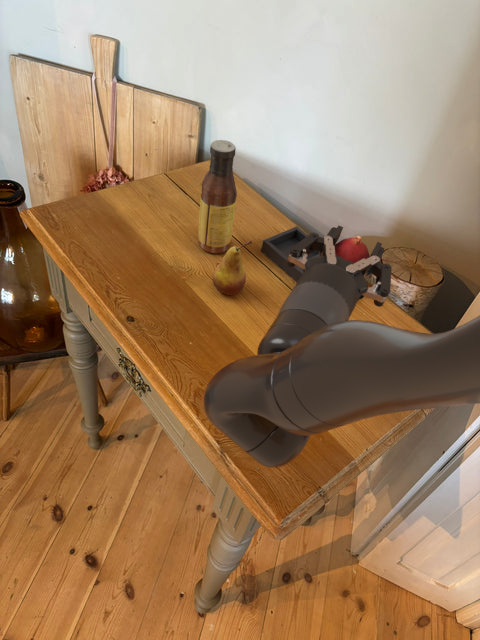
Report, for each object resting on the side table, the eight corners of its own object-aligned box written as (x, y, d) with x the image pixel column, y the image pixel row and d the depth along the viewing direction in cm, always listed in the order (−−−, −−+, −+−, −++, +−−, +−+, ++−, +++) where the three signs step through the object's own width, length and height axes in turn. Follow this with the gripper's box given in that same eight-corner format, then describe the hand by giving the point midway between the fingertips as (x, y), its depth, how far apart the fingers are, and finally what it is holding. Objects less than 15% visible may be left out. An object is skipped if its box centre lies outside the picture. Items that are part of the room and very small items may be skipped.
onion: (314, 278, 68) (328, 233, 62) (335, 262, 71) (351, 218, 65) (346, 299, 65) (365, 254, 60) (367, 281, 69) (386, 238, 63)
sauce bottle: (236, 244, 89) (253, 147, 74) (217, 260, 85) (232, 161, 70) (208, 229, 90) (220, 132, 76) (189, 244, 86) (197, 144, 72)
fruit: (236, 276, 83) (247, 221, 74) (247, 298, 79) (259, 243, 70) (206, 279, 81) (214, 223, 72) (216, 302, 77) (225, 247, 69)
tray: (293, 236, 93) (296, 226, 91) (357, 288, 85) (362, 278, 84) (260, 250, 88) (263, 240, 87) (325, 307, 81) (329, 296, 79)
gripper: (386, 314, 50) (418, 237, 61) (269, 261, 53) (319, 197, 64) (363, 356, 56) (395, 279, 67) (257, 306, 59) (305, 240, 70)
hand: (357, 239), depth 65 cm, fingers closed on onion, 5 cm apart
